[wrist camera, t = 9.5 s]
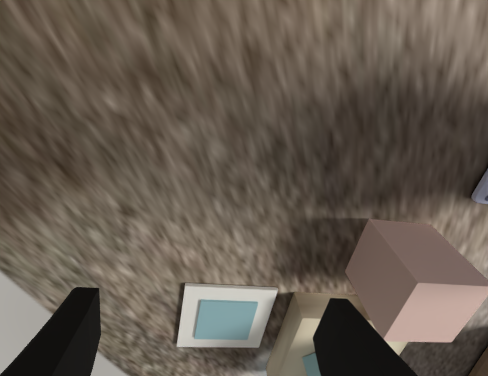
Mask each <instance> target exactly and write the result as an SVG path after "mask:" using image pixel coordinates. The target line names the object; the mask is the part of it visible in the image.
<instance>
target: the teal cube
mask: <svg viewBox="0 0 488 376" xmlns="http://www.w3.org/2000/svg"><path fill="white" fill-rule="evenodd" d="M302 359H303V363H304V366H305V369H306V373H307V376H321V374H320V371H319V367H318V362H317V358H316V353H313V354H311V355H308V356H306V357H303V358H302Z"/></svg>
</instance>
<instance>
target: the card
mask: <svg viewBox="0 0 488 376" xmlns="http://www.w3.org/2000/svg"><path fill="white" fill-rule="evenodd" d="M277 292H278V289H277V287H259V286H238V285H217V284H196V283H185V289H184V296H183V304H182V311H181V318H180V325H179V333H178V340H177V347H246V348H259V346H260V343H261V340H262V337H263V334H264V331H265V328H266V325H267V322H268V319H269V316H270V313H271V310H272V307H273V304H274V301H275V298H276V295H277Z"/></svg>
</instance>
